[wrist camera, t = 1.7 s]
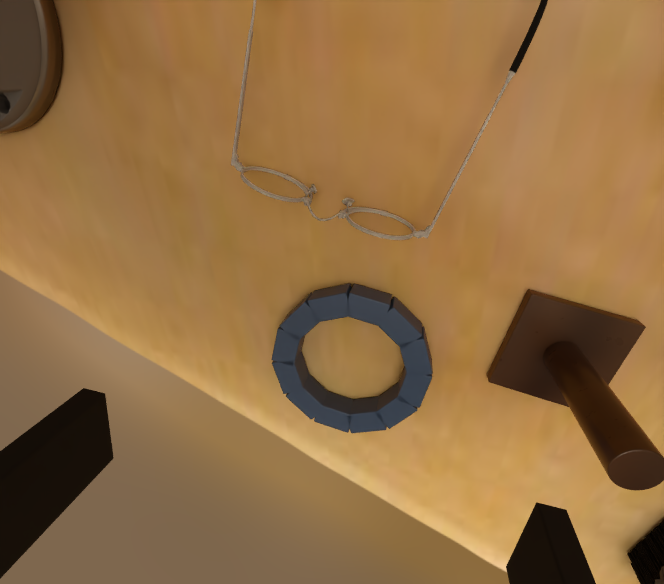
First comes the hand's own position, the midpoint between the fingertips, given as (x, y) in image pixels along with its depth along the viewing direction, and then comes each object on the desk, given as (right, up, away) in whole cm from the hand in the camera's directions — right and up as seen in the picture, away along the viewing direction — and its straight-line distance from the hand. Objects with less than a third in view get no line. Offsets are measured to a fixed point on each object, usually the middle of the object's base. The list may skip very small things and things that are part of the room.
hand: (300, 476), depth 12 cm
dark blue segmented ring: (+3, 0, +22) cm, 22 cm away
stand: (+18, +1, +18) cm, 26 cm away
